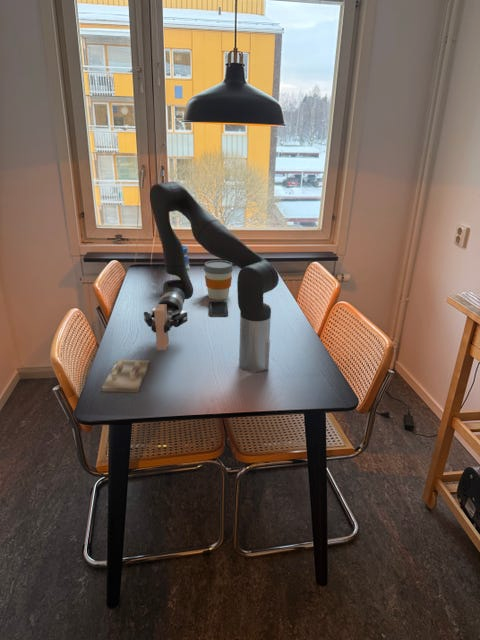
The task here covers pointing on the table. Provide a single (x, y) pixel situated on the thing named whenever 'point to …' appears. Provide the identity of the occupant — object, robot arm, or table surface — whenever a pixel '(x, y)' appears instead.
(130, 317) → the table surface
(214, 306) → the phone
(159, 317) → the block
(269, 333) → the robot arm
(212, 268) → the reusable coffee cup
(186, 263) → the beverage bottle
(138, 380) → the plate
